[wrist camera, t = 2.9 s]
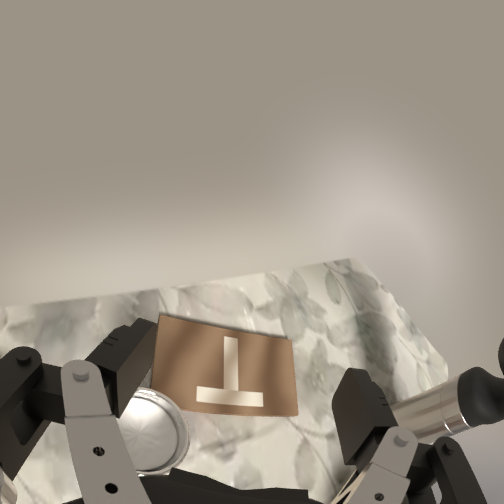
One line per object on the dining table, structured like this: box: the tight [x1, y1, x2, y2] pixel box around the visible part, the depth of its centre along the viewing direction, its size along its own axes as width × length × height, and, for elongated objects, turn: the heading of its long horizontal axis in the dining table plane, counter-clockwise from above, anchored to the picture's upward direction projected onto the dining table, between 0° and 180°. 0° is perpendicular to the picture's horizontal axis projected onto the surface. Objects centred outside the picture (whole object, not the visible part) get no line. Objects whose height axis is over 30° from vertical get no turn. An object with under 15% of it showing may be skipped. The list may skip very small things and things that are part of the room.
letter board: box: [151, 315, 298, 416], centre depth 36 cm, size 20×12×1 cm, turn 92°
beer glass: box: [116, 387, 190, 476], centre depth 20 cm, size 7×7×15 cm
